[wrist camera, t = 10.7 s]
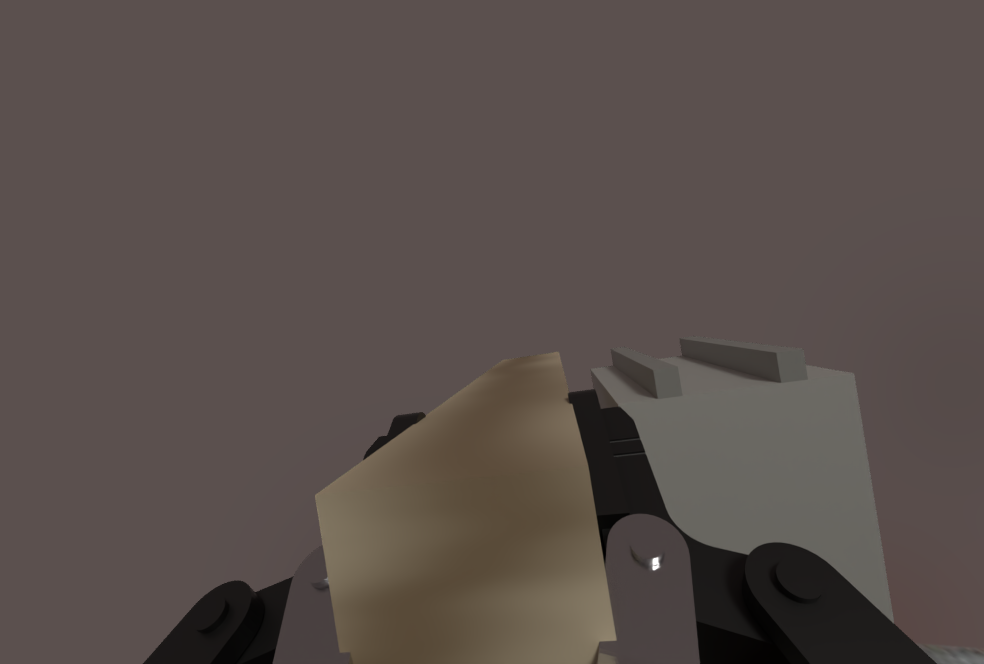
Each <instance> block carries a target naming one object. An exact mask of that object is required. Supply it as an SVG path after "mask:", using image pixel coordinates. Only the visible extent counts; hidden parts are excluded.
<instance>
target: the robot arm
mask: <svg viewBox="0 0 984 664" xmlns="http://www.w3.org/2000/svg"><path fill="white" fill-rule="evenodd" d="M568 399H569V404H572V405H573V409H574V413H575V417H576V420H577V424H578V428H579V432H580V436H581V440H582V444H583V447H584V451H585V455H586V459H587V463H588V467H589V473H590V480H591V486H592V492H593V498H594V504H595V510H596V516H597V523H598V529H599V535H600V541H601V547H602V553H603V560H604V566H605V572H606V578H607V584H608V590H609V596H610V603H611V609H612V615H613V621H614V627H615V633H616V640H617V641H600V643H599V655H598V663H597V664H937V663H935V662H934V661H933V660H932V659H931V658H930V657H929V656H928V655H927V654H926V653H925V652H924V651H923V650H922V649H920V648H919V647H918V646H917V645H916V644H915V643H914V642H913V641H912V640H911V639H910V638H909V637H907V635H905V634H904V633H903V632H902V631H901V630H900V629H899V628H898V627H897V626H896V625H895V624H894V623H893V622H892V621H890V620H889V619H888V618H887V617H886V616H885V615H884V614H883V613H882V612H881V611H880V610H879V609H878V608H877V607H875V606H874V605H873V604H872V603H871V602H870V601H869V600H868V599H867V598H866V597H865V596H864V595H863V594H862V593H860V592H859V591H858V590H857V589H856V588H855V587H854V586H853V585H852V584H851V583H850V582H849V581H848V580H847V579H845V578H844V577H843V576H842V575H841V574H840V573H839V572H838V571H837V570H836V569H835V568H834V567H832V566H831V565H830V564H829V563H828V562H827V561H825V560H824V559H822V558H821V557H819V556H818V555H816V554H814V553H813V552H811V551H809V550H807V549H804V548H802V547H799V546H796V545H793V544H788V543H782V542H772V543H765V544H762V545H760V546H758V547H756V548H755V549H753V550H752V551H751V552H750V554H749V555H747V554H743V553H738V552H734V551H730V550H725V549H721V548H716V547H713V546H709V545H706V544H704V543H701V542H699V541H697V540H695V539H693V538H691V537H690V536H689V535H687V534H686V533H684V532H683V531H682V530H681V529H680V528H679V527H678V526H677V525H676V524H675V523H674V522H673V520H672V519H671V517H670V516H669V514H668V512H667V509H666V507H665V504H664V501H663V499H662V496H661V493H660V490H659V488H658V485H657V482H656V479H655V477H654V474H653V471H652V469H651V466H650V463H649V460H648V458H647V455H646V454H645V449H644V447H643V444H642V441H641V440H640V436H639V433H638V430H637V428H636V425H635V422H634V420H633V419H632V418H631V417H630V416H629V415H628V414H627V413H626V412H625V411H624V410H623V409H622V408H621V407H620V406H619V407H611V408H603V409H601V407H600V404H599V400H598V396H597V393H596V390H595V389H592V390H585V391H577V392H570V393H568ZM425 417H426V415H425V414H424V413H423V412H420V413H412V414H405V415H398V416H396V417H395V418H394V419H393V422H392V424H391V427H390V430H389V433H388V435H387V436H381V437H379V438H378V439H377V440H376V441H375V442H374V444H373V445H372V446H371V447H370V448H369V449H368V451H367V452H366V454H365V456H364V459H363V460H365V459H366V458H367V457H369V456H370V455H372V454H373V453H374V452H376V451H377V450H379V449H380V448H381V447H383V446H384V445H385V444H387V443H388V442H390V441H391V440H392V439H394V438H395V437H397V436H398V435H399V434H401V433H402V432H404V431H405V430H406V429H408V428H409V427H410V426H412V425H413V424H416V423H418V422H419V421H421V420H422V419H423V418H425ZM143 664H353V660H352V657H351V653H350V652H342V653H340V651H339V645H338V638H337V632H336V626H335V619H334V613H333V607H332V600H331V594H330V588H329V581H328V575H327V569H326V562H325V556H324V550H323V545H322V546H320V547H318V548H317V549H316V550H314V551H313V552H312V553H311V554H309V555H308V556H307V557H306V559H305V560H304V561H303V562H302V563H301V564H300V566H299V567H298V569H297V571H296V572H295V574H294V576H293V577H291V578H289V579H286V580H284V581H282V582H279V583H277V584H274V585H272V586H269V587H267V588H265V589H262V590H260V591H258V592H254V591H253V590H252V589H251V588H250V586H249V585H247V584H246V583H245V582H243V581H231V582H227V583H224V584H222V585H220V586H218V587H216V588H215V589H213V590H212V591H210V592H209V593H208V594H206V595H205V596H204V597H203V598H201V599H200V600H199V601H198V602H197V603H196V605H194V607H193V608H192V609H191V610H190V611H189V612H188V613H187V614H186V616H185V617H184V618H183V619H182V620H181V621H180V622H179V624H178V625H177V626H176V627H175V628H174V629H173V630H172V631H171V633H170V634H169V635H168V636H167V637H166V638H165V639H164V641H163V642H162V643H161V644H160V645H159V646H158V648H156V650H155V651H154V652H153V653H152V654H151V655H150V656H149V658H148V659H147V660H146V661H145V662H144V663H143Z"/></svg>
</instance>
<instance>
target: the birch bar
mask: <svg viewBox="0 0 984 664" xmlns="http://www.w3.org/2000/svg"><path fill="white" fill-rule="evenodd" d="M568 393H569V390H568V386H567V382H566V378H565V374H564V370H563V367H562V363H561V359H560V355H559V352H553V353H547V354H540V355H534V356H527V357H520V358H514V359H507V360H503V361H501V362H500V363H498V364H497V365H495V366H494V367H493V368H491V369H490V370H488V371H487V372H486V373H484V374H483V375H481V376H480V377H479V378H477V379H476V380H474V381H473V382H472V383H470V384H469V385H468V386H466V387H465V388H463V389H462V390H461V391H459V392H458V393H456V394H455V395H454V396H452V397H451V398H449V399H448V400H447V401H445V402H444V403H443V404H441V405H440V406H438V407H437V408H436V409H434V410H433V411H431V412H430V413H429V414H427V415H426V417H425V418H423V419H422V420H421V421H419V422H418V423H416V424H413V425H412V426H410V427H409V428H408V429H406V430H405V431H404V432H402V433H401V434H399V435H398V436H397V437H395V438H394V439H392V440H391V441H390V442H388V443H387V444H385V445H384V446H383V447H381V448H380V449H379V450H377V451H376V452H374V453H373V454H372V455H370V456H369V457H367V458H366V459H365V460H363V461H362V462H361V463H359V464H358V465H356V466H355V467H353V468H352V469H351V470H349V471H348V472H347V473H345V474H344V475H342V476H341V477H340V478H338V479H337V480H335V481H334V482H333V483H331V484H330V485H328V486H327V487H326V488H324V489H323V490H321V491H320V492H319V493H317V494H316V495H315V499H316V505H317V512H318V518H319V524H320V531H321V537H322V543H323V550H324V556H325V562H326V569H327V575H328V581H329V588H330V594H331V600H332V607H333V613H334V619H335V626H336V632H337V638H338V645H339V651H340V653H342V652H350V653H351V657H352V660H353V664H597V663H598V655H599V643H600V641H617V640H616V633H615V627H614V621H613V615H612V609H611V603H610V596H609V590H608V584H607V578H606V572H605V566H604V560H603V553H602V547H601V541H600V535H599V529H598V523H597V516H596V510H595V504H594V498H593V492H592V486H591V480H590V473H589V467H588V463H587V459H586V455H585V451H584V447H583V444H582V440H581V436H580V432H579V428H578V424H577V420H576V417H575V413H574V409H573V405H572V404H569V399H568Z"/></svg>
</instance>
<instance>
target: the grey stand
mask: <svg viewBox="0 0 984 664" xmlns="http://www.w3.org/2000/svg"><path fill="white" fill-rule="evenodd" d="M680 344H681V351H682V356H677V357H670V358H663V359H656V358H653V357H650V356H648V355H645V354H642V353H640V352H637V351H634V350H631V349H629V348H626V347H620V348H614V349H611V354H612V360H613V366H608V367H602V368H595V369H591V376H592V382H593V388H594V389H595V390H596V393H597V396H598V400H599V404H600V407H601V409H603V408H611V407H619V406H620V407H621V408H622V409H623V410H624V411H625V412H626V413H627V414H628V415H629V416H630V417H631V418H632V419H633V420H634V422H635V425H636V428H637V430H638V433H639V436H640V440H641V441H642V444H643V447H644V449H645V454H646V455H647V458H648V460H649V463H650V466H651V469H652V471H653V474H654V477H655V479H656V482H657V485H658V488H659V490H660V493H661V496H662V499H663V501H664V504H665V507H666V509H667V512H668V514H669V516H670V517H671V519H672V520H673V522H674V523H675V524H676V525H677V526H678V527H679V528H680V529H681V530H682V531H683V532H684V533H686V534H687V535H689V536H690V537H691V538H693V539H695V540H697V541H699V542H701V543H704V544H706V545H709V546H713V547H716V548H721V549H725V550H730V551H734V552H738V553H743V554H747V555H749V554H750V552H751V551H752V550H753V549H755V548H756V547H758V546H760V545H762V544H765V543H772V542H782V543H788V544H793V545H796V546H799V547H802V548H804V549H807V550H809V551H811V552H813V553H814V554H816V555H818V556H819V557H821V558H822V559H824V560H825V561H827V562H828V563H829V564H830V565H831V566H832V567H834V568H835V569H836V570H837V571H838V572H839V573H840V574H841V575H842V576H843V577H844V578H845V579H847V580H848V581H849V582H850V583H851V584H852V585H853V586H854V587H855V588H856V589H857V590H858V591H859V592H860V593H862V594H863V595H864V596H865V597H866V598H867V599H868V600H869V601H870V602H871V603H872V604H873V605H874V606H875V607H877V608H878V609H879V610H880V611H881V612H882V613H883V614H884V615H885V616H886V617H887V618H888V619H889V620H890V621H892V622H893V623H894V619H893V613H892V607H891V600H890V594H889V588H888V582H887V576H886V569H885V563H884V557H883V551H882V544H881V538H880V532H879V527H878V520H877V513H876V507H875V502H874V495H873V488H872V482H871V477H870V470H869V464H868V457H867V451H866V445H865V440H864V433H863V427H862V421H861V414H860V408H859V401H858V395H857V389H856V383H855V377H854V373H847V372H843V371H837V370H831V369H826V368H820V367H814V366H808V365H805V357H804V352H803V349H799V348H790V347H782V346H773V345H765V344H756V343H747V342H738V341H730V340H721V339H713V338H704V337H696V336H693V337H687V338H680Z"/></svg>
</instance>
